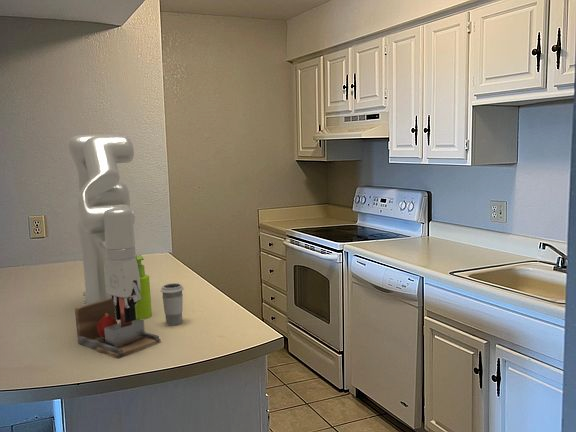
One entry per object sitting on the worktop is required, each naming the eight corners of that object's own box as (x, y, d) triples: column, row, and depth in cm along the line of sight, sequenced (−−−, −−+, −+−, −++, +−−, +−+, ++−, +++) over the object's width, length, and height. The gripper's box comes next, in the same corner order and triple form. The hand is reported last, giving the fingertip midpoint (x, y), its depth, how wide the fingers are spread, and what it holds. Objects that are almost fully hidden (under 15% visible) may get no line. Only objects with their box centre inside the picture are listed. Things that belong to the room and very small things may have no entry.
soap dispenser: (136, 321, 176) (131, 258, 173) (131, 315, 182) (126, 255, 179) (154, 318, 179) (150, 256, 176) (149, 312, 185) (145, 252, 182)
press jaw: (104, 345, 153) (99, 291, 151) (134, 334, 161) (130, 283, 158) (115, 349, 150) (111, 294, 147) (146, 337, 157) (142, 285, 155)
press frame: (74, 343, 158) (71, 309, 157) (116, 329, 169) (114, 296, 168) (118, 358, 146) (115, 321, 144) (160, 342, 157) (158, 307, 155)
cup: (174, 328, 168) (171, 289, 166) (158, 325, 171) (155, 287, 170) (190, 321, 174) (188, 283, 172) (174, 318, 177) (172, 281, 176)
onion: (100, 337, 163) (98, 310, 162) (121, 335, 163) (119, 309, 162) (95, 344, 157) (93, 316, 156) (116, 343, 157) (114, 315, 156)
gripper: (91, 253, 153) (96, 318, 155) (128, 259, 143) (133, 329, 146) (114, 248, 159) (119, 311, 161) (151, 254, 149) (156, 321, 151)
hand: (126, 319), depth 153 cm, fingers closed on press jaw, 3 cm apart
